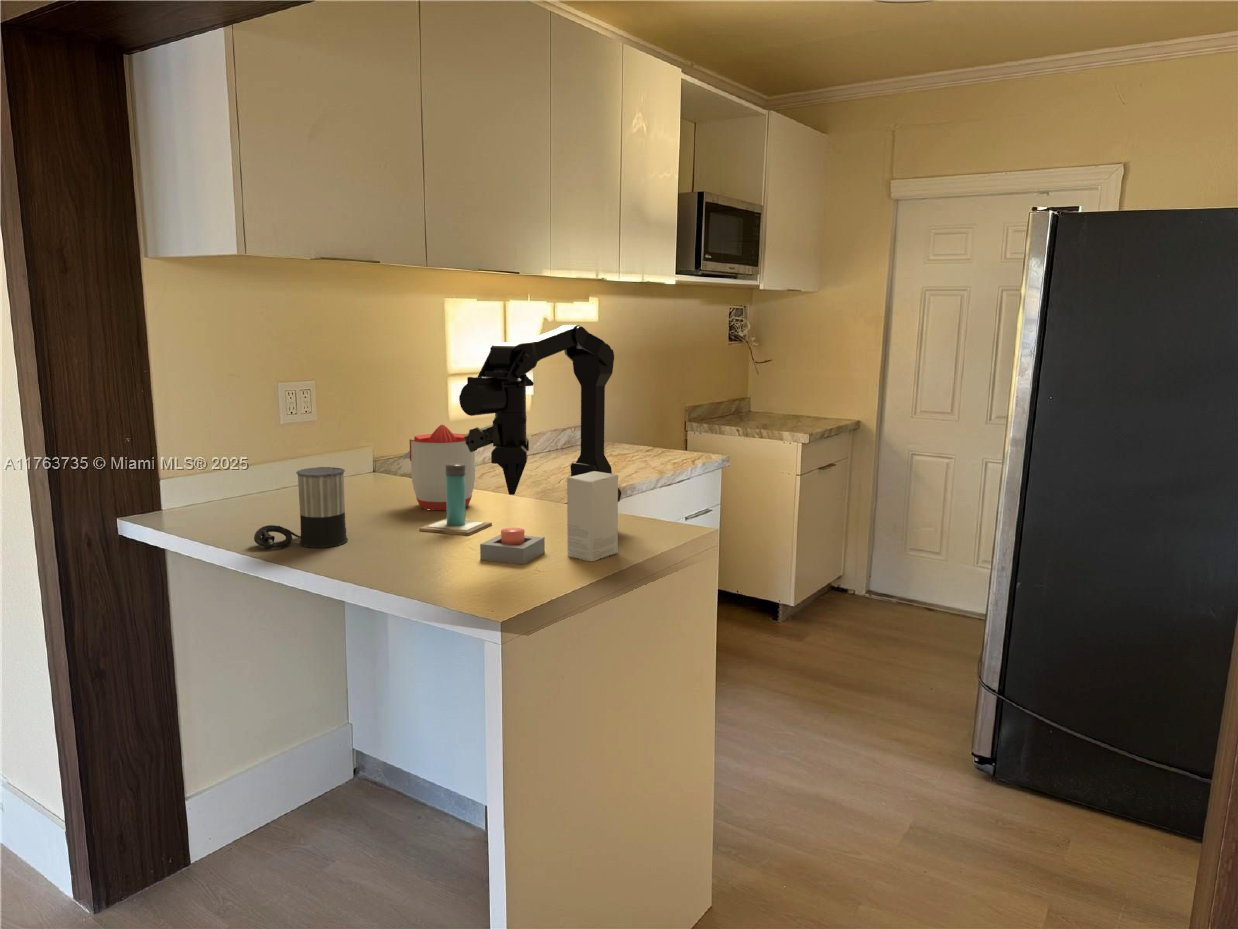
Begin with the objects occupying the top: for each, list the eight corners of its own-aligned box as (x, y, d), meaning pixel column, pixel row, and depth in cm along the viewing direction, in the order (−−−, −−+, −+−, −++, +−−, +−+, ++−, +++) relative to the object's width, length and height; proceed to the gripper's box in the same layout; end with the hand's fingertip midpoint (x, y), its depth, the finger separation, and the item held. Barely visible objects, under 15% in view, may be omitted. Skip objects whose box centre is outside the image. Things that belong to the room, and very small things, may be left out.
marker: (469, 524, 184) (469, 465, 181) (451, 527, 181) (451, 467, 179) (460, 521, 187) (459, 462, 185) (442, 523, 184) (442, 464, 182)
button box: (544, 552, 164) (544, 537, 164) (523, 564, 156) (523, 548, 156) (503, 548, 167) (502, 533, 167) (480, 559, 159) (480, 544, 159)
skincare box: (594, 548, 168) (594, 470, 165) (620, 554, 164) (620, 474, 161) (565, 556, 161) (565, 476, 159) (591, 563, 157) (591, 480, 155)
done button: (528, 544, 163) (528, 528, 162) (518, 549, 159) (517, 534, 158) (507, 542, 164) (507, 526, 164) (497, 547, 160) (496, 532, 160)
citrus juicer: (411, 500, 213) (408, 420, 210) (480, 500, 214) (479, 420, 211) (397, 513, 198) (394, 428, 195) (472, 513, 199) (470, 428, 195)
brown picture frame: (491, 525, 187) (491, 521, 187) (468, 535, 177) (468, 531, 177) (444, 520, 191) (444, 517, 191) (419, 530, 182) (419, 527, 181)
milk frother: (358, 542, 172) (354, 469, 170) (288, 558, 160) (283, 480, 157) (315, 531, 180) (311, 462, 178) (245, 547, 168) (240, 473, 165)
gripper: (471, 407, 166) (472, 485, 169) (461, 416, 148) (463, 505, 150) (528, 406, 167) (529, 485, 169) (525, 416, 149) (526, 504, 151)
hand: (511, 494), depth 160 cm, fingers closed
